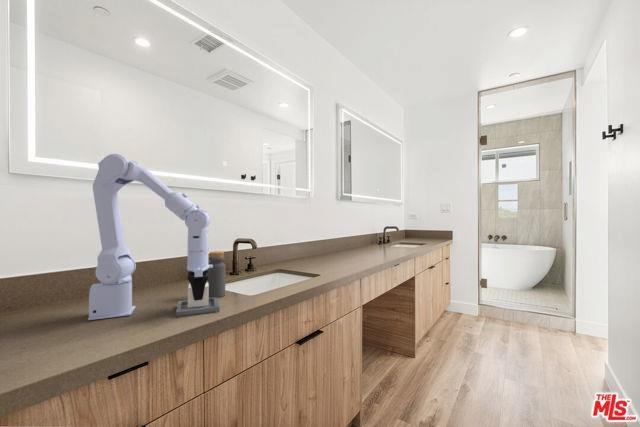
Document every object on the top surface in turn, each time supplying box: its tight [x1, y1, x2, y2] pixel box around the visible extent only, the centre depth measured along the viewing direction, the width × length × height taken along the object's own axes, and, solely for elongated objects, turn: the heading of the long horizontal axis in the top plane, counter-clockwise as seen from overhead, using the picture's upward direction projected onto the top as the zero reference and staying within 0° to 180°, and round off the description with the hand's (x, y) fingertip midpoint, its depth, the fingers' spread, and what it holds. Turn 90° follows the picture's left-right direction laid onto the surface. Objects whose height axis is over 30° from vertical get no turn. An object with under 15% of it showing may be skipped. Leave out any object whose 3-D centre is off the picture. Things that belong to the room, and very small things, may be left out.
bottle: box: [206, 250, 227, 299], centre depth 99 cm, size 6×6×15 cm
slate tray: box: [175, 297, 220, 318], centre depth 85 cm, size 11×11×1 cm
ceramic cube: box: [187, 282, 210, 308], centre depth 85 cm, size 6×6×6 cm
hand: (198, 297), depth 85 cm, fingers closed on ceramic cube, 6 cm apart
